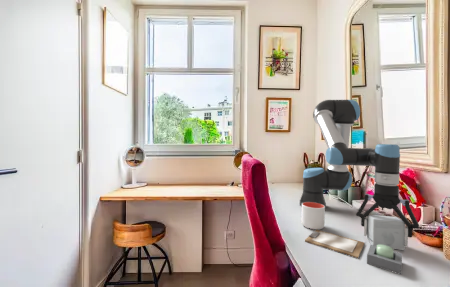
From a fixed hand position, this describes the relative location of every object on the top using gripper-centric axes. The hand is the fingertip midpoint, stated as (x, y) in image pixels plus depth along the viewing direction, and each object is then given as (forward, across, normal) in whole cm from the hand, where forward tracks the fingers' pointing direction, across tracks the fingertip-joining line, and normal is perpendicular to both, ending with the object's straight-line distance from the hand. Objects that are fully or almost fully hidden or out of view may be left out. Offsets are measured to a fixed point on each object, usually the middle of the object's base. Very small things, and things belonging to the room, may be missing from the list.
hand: (384, 239), depth 82 cm
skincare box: (+2, 0, 0) cm, 2 cm away
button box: (+2, +1, -16) cm, 16 cm away
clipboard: (+2, -15, -12) cm, 19 cm away
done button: (0, +1, -16) cm, 16 cm away
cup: (+2, -27, -1) cm, 27 cm away
